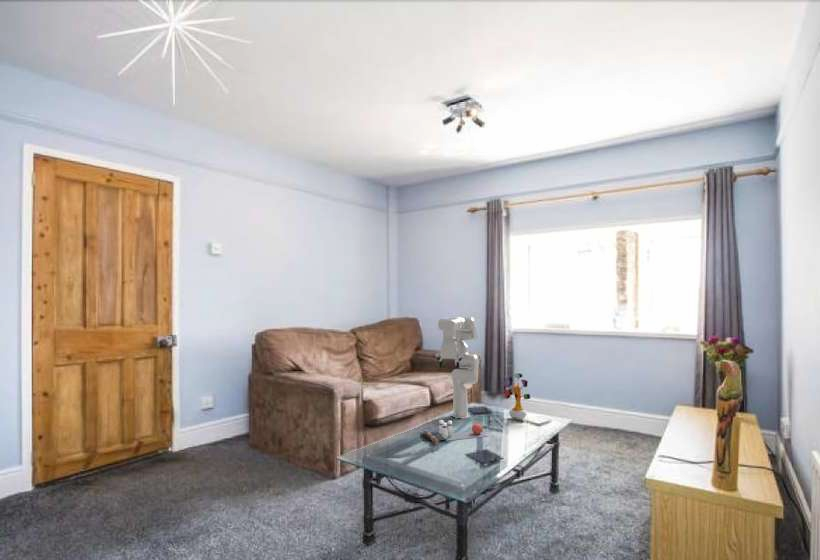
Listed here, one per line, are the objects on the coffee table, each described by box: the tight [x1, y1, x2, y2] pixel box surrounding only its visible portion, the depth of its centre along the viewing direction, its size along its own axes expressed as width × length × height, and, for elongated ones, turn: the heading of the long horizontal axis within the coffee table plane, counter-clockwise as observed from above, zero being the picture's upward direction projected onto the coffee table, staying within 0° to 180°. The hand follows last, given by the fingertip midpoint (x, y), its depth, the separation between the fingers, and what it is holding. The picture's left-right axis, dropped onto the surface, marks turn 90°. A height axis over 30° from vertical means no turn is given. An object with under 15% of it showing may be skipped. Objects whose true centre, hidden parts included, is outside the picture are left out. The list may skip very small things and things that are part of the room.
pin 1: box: [438, 419, 444, 435], centre depth 252 cm, size 2×2×9 cm
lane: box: [445, 430, 488, 442], centre depth 253 cm, size 11×30×1 cm, turn 107°
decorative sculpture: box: [503, 373, 531, 421], centre depth 286 cm, size 20×8×30 cm, turn 37°
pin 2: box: [442, 422, 448, 439], centre depth 247 cm, size 2×2×9 cm
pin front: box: [447, 420, 453, 437], centre depth 251 cm, size 2×2×9 cm
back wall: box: [423, 429, 440, 446], centre depth 248 cm, size 20×2×2 cm, turn 17°
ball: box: [471, 423, 483, 435], centre depth 256 cm, size 6×6×6 cm
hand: (449, 368), depth 264 cm, fingers open, 9 cm apart
